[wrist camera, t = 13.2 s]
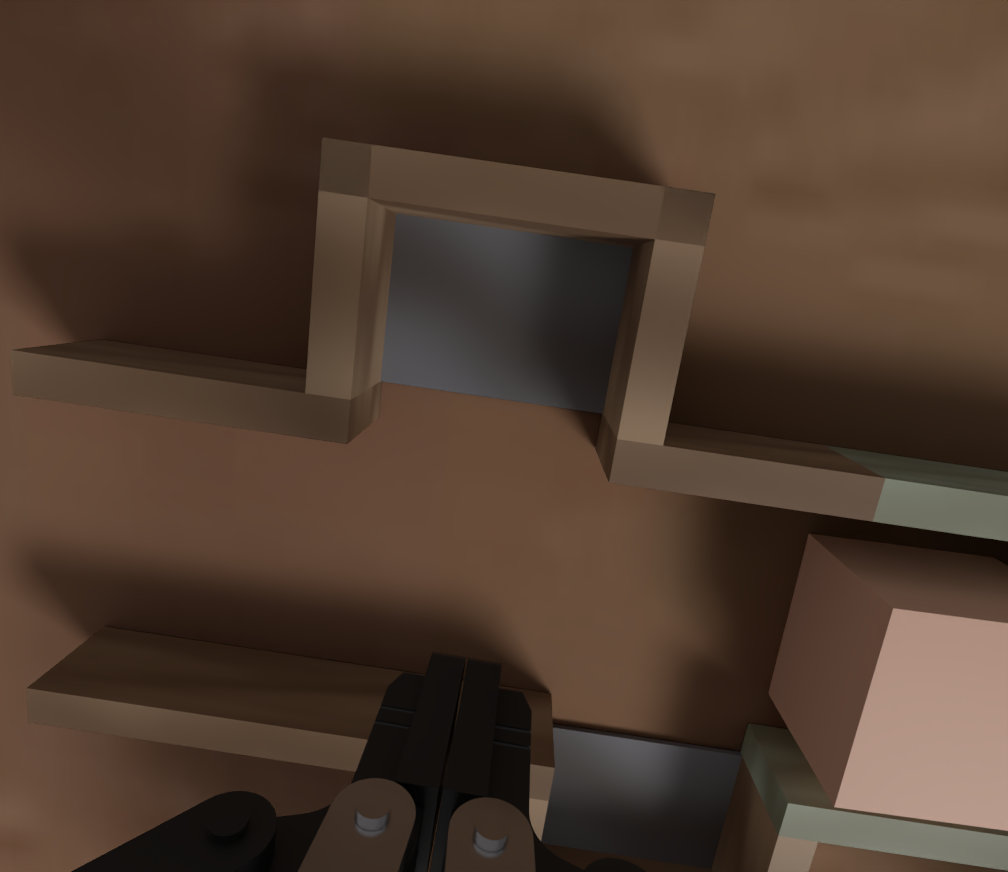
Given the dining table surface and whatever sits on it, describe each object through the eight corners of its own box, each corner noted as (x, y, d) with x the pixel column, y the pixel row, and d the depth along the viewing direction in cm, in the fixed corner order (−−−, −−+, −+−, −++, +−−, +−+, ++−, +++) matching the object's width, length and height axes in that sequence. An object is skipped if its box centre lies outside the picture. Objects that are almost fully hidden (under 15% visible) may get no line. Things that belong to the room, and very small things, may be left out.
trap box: (97, 127, 18) (-2, 90, 15) (1162, 280, 18) (1308, 278, 15) (106, 798, 24) (35, 883, 20) (918, 922, 24) (982, 1029, 20)
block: (807, 532, 20) (893, 608, 16) (991, 556, 20) (1135, 640, 15) (766, 691, 22) (833, 807, 17) (938, 714, 22) (1056, 837, 17)
